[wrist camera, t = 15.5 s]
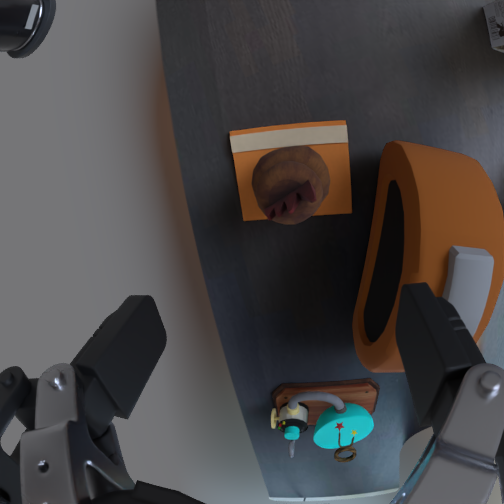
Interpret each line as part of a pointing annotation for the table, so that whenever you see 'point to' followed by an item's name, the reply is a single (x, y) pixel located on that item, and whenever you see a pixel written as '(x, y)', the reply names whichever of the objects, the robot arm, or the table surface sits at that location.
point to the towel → (300, 134)
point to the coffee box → (495, 24)
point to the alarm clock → (428, 245)
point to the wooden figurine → (290, 184)
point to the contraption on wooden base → (326, 412)
